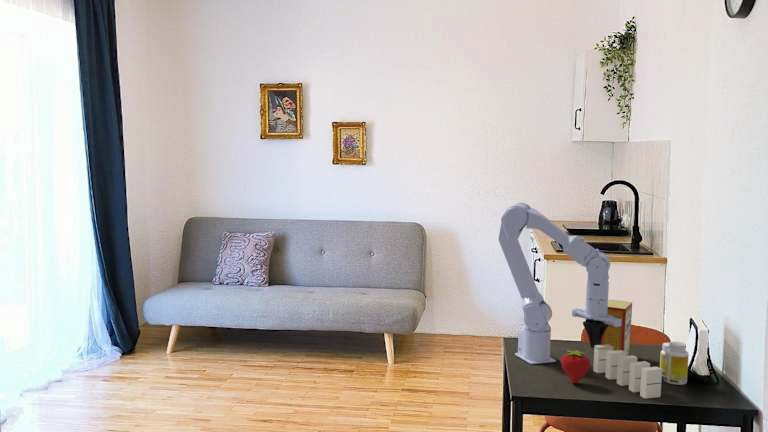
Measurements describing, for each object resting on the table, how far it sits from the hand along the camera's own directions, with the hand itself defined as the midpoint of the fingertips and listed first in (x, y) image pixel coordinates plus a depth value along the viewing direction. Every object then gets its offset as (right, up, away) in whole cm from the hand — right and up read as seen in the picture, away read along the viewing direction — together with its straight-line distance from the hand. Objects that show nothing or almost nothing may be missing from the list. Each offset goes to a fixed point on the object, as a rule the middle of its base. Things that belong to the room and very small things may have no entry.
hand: (594, 347), depth 210 cm
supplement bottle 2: (+18, -7, -11) cm, 22 cm away
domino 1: (+3, -7, -8) cm, 11 cm away
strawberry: (-9, -7, -13) cm, 17 cm away
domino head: (+1, -6, -3) cm, 7 cm away
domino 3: (+6, -8, -18) cm, 20 cm away
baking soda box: (+8, -5, +9) cm, 13 cm away
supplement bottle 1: (+18, -7, -6) cm, 20 cm away
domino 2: (+5, -7, -13) cm, 16 cm away
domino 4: (+8, -8, -22) cm, 25 cm away
